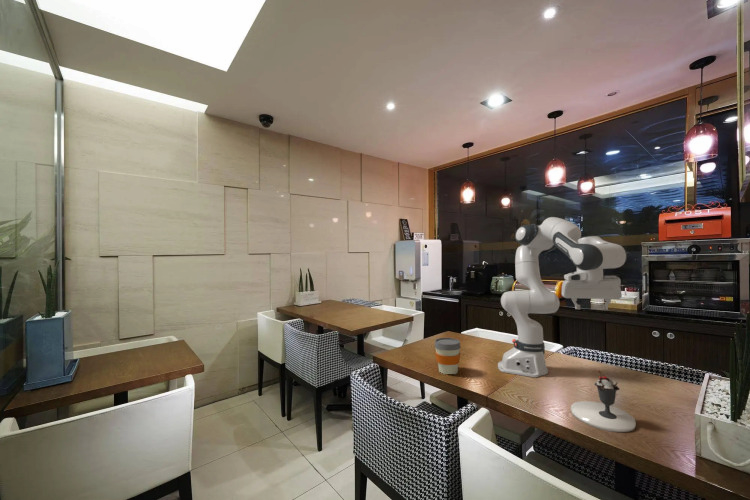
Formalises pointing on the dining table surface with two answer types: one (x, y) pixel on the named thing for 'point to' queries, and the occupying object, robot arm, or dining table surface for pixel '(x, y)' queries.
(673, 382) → the dining table surface
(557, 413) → the dining table surface
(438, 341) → the reusable coffee cup
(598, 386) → the sundae
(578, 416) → the serving plate
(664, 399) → the dining table surface
